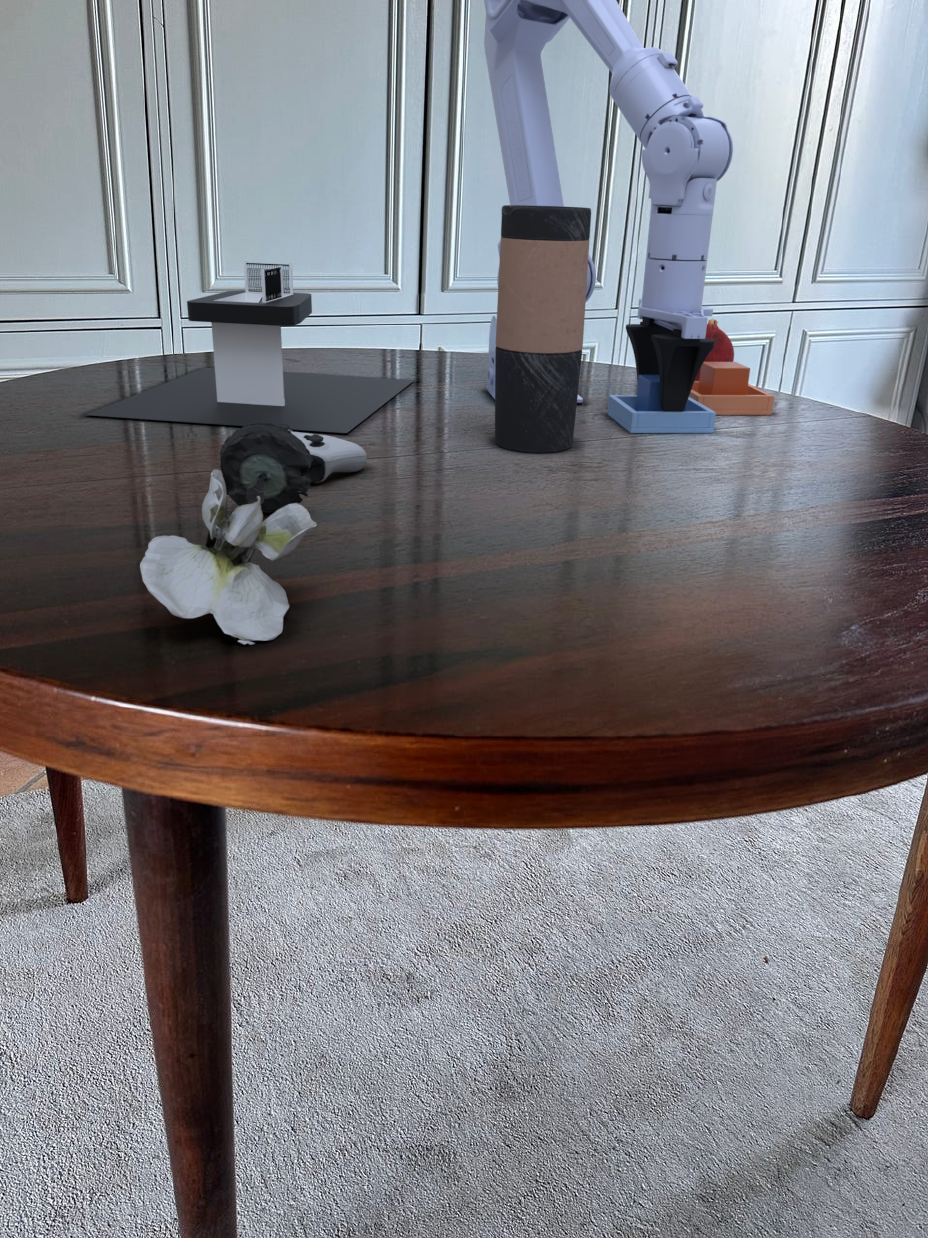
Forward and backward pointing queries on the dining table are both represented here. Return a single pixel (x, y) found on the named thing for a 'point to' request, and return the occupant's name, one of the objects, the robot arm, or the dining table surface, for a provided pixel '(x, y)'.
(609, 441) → the dining table surface
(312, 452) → the game controller
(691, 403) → the slate tray
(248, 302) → the black-topped pedestal
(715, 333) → the onion
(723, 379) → the rust block
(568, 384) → the travel mug
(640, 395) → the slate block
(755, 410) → the terracotta tray
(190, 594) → the artificial flower
